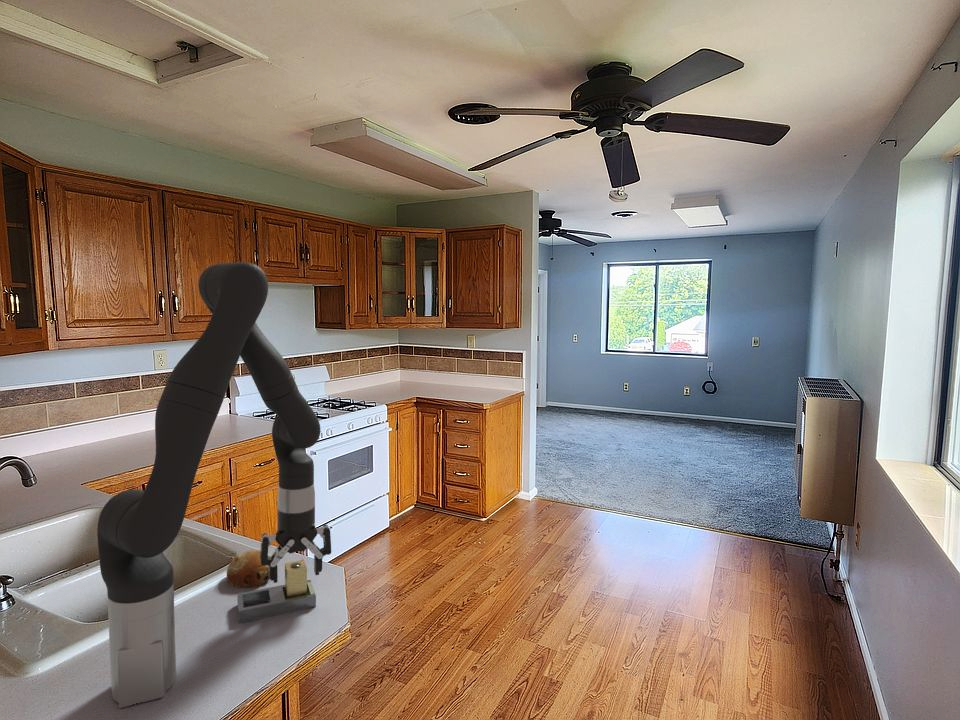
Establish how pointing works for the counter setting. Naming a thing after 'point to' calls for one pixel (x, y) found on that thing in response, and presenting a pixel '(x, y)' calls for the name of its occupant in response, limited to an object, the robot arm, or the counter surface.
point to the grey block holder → (272, 602)
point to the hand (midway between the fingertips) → (296, 577)
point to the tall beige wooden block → (295, 579)
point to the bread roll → (248, 570)
